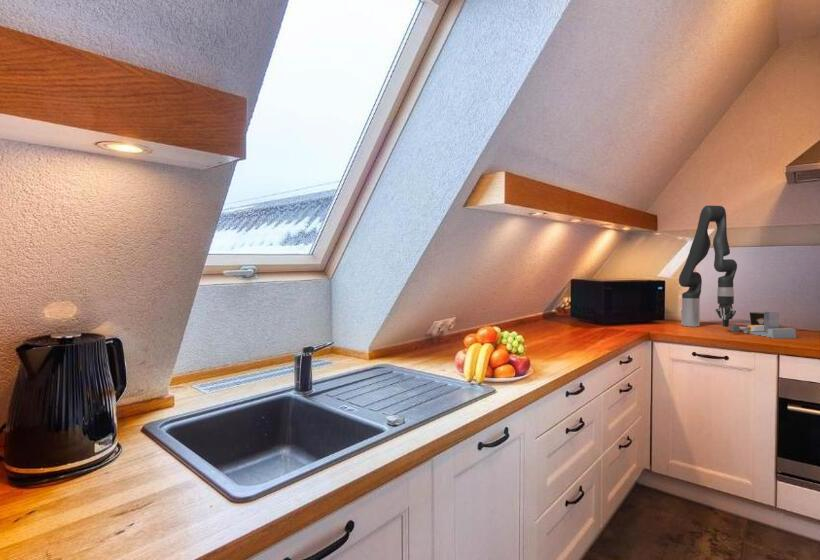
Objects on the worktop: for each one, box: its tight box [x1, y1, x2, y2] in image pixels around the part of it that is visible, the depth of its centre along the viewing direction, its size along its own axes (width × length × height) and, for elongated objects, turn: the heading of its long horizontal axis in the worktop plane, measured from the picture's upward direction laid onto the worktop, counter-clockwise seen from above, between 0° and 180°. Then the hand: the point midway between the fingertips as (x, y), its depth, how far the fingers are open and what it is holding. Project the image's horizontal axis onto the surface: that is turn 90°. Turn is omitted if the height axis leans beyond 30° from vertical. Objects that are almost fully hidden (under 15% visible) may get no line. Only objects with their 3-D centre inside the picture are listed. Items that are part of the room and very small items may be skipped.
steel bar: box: [763, 311, 780, 333], centre depth 240 cm, size 4×5×11 cm
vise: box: [742, 327, 797, 339], centre depth 241 cm, size 20×12×4 cm, turn 2°
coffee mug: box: [749, 311, 765, 325], centre depth 260 cm, size 12×9×10 cm
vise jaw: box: [729, 324, 764, 333], centre depth 247 cm, size 3×22×3 cm, turn 92°
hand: (725, 326), depth 253 cm, fingers closed
